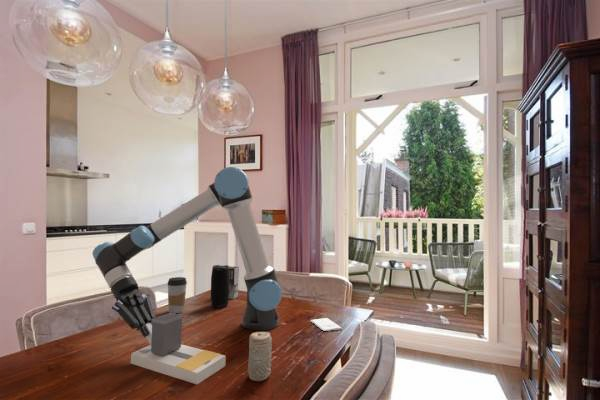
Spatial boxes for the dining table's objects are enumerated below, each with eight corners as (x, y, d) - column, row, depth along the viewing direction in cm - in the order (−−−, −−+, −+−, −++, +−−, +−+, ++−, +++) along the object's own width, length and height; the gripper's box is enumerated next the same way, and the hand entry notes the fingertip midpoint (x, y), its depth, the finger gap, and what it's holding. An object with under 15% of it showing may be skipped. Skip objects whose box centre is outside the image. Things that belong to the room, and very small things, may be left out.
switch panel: (130, 363, 99) (131, 352, 99) (162, 348, 110) (163, 339, 110) (196, 384, 88) (197, 372, 88) (225, 365, 98) (225, 355, 99)
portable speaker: (230, 304, 164) (231, 264, 164) (225, 309, 154) (226, 267, 155) (213, 303, 164) (215, 264, 165) (207, 308, 155) (209, 267, 156)
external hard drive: (327, 321, 142) (342, 331, 131) (310, 323, 139) (323, 333, 128) (327, 317, 142) (342, 327, 131) (310, 319, 139) (323, 329, 128)
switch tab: (150, 352, 99) (151, 319, 99) (169, 344, 105) (170, 312, 106) (163, 356, 96) (164, 321, 97) (181, 347, 103) (182, 315, 103)
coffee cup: (179, 315, 144) (180, 281, 145) (162, 313, 146) (163, 280, 147) (189, 309, 153) (190, 277, 153) (173, 308, 154) (174, 276, 155)
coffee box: (238, 296, 179) (239, 266, 180) (233, 299, 173) (234, 268, 173) (222, 295, 181) (223, 265, 181) (217, 298, 174) (218, 267, 175)
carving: (244, 382, 89) (245, 338, 89) (253, 369, 96) (254, 328, 97) (266, 385, 88) (267, 340, 88) (273, 372, 95) (274, 330, 96)
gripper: (133, 286, 116) (165, 342, 109) (97, 294, 105) (130, 358, 97) (144, 272, 114) (178, 329, 106) (108, 279, 102) (143, 343, 95)
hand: (155, 343), depth 102 cm, fingers closed
